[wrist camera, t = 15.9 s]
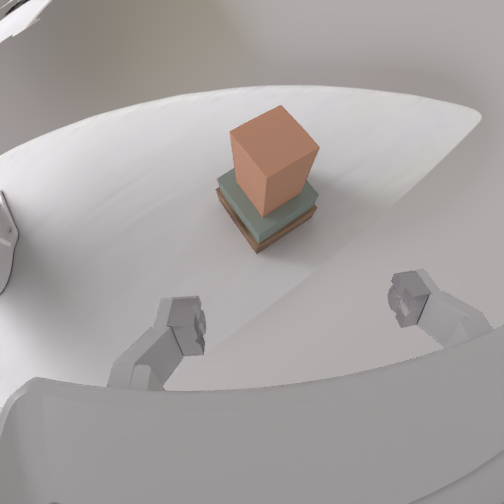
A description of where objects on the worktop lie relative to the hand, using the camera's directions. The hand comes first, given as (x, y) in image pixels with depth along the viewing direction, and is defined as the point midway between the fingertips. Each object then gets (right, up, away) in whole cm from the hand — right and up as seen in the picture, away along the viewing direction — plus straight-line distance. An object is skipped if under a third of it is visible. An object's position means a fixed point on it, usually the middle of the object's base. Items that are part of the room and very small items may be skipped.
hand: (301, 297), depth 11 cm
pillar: (0, +9, +19) cm, 21 cm away
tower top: (0, +8, +23) cm, 25 cm away
